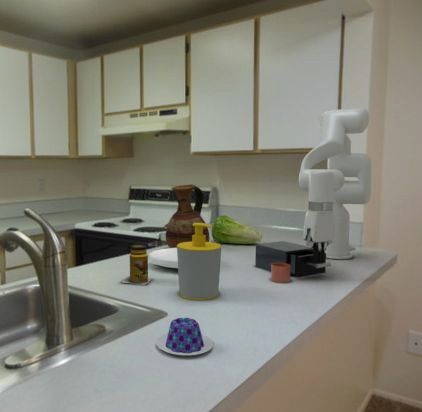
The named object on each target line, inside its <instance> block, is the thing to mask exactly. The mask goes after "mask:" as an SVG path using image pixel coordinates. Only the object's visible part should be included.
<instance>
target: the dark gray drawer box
mask: <svg viewBox="0 0 422 412" xmlns="http://www.w3.org/2000/svg"><path fill="white" fill-rule="evenodd" d="M303 251H313V252H314V250H312V247H311V246H308V245H303V244H299V243H295V242H291V241H290V242H289V241H286V240H279V241H272V242H262V243H261V242H260V243H255V259H254V261H255V265H254V267H256V268H259V269H262V270H266V271H269V272H271V264H273V263H286V264H287V261H288V253H295V252H303ZM294 275H295V276H296V274H293V273H290V276H294Z"/></svg>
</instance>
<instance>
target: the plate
mask: <svg viewBox="0 0 422 412" xmlns="http://www.w3.org/2000/svg"><path fill="white" fill-rule="evenodd" d="M148 262H149V263H151V264H153V265H156V266H160V267H164V268H171V269H178V258H177V248H170V247H168V248H162V249H156V250H153V251H151V252H150V253H149V254H148Z"/></svg>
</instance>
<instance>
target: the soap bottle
mask: <svg viewBox="0 0 422 412" xmlns="http://www.w3.org/2000/svg"><path fill="white" fill-rule="evenodd" d="M205 223H206V222H205ZM205 223H194V224H193V226H195V235H192V242H183V243H179V244H178V245H177V258H178V268H177V274H178V286H179V287H178V289H179V291H178V292H179V296H180V297H183V298H185V299H188V300H196V301H206V300H213V299H215V298H217V297H218V296H219V290H220V289H219V287H220V276H221V275H220V274H221V273H220V272H221V260H222V259H221V258H222V257H221V256H222V245H221V243H218V242H211V241H209V242H206V236H205V235H203V227H207V228H208V229H212V225H210V224H208V223H206V224H205Z"/></svg>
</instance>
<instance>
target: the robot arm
mask: <svg viewBox="0 0 422 412" xmlns="http://www.w3.org/2000/svg"><path fill="white" fill-rule="evenodd" d="M369 113H370V112H369V111H368V109H367V108H365V107H355V108H344V109H341V108H340V109H331V110H326V111H323V112H321V114H320V115H319V124H320V131H319V137H318V142H317V145H316V146H314V147H313V148H312V149H311V150H310V151H309V152H308V153H307V154H306V155H305V156H304V157H303V159H302V161H301V163H300V169H299V175H298V185H299V188H300V189H301V190H303V191H306V192H308V205H307V206H308V209H307V211H306V212H305V217H304V222H303V230H302V231H303V233H302V239H303V240H304V241H306V243H305V244H306V245H305V246H308V247H312V250H314V254H313V261H314V262H316V263H324V262H325V253H326V259H332V260H349V259H352V258H353V254H352V253H351V251H355V250H356V248H357V247H356V246H355V245H350V222H351V221H350V218H351V217H350V215H351V214H350V212H349V211H348V210H347V208H346V207H345V205H366V204H368V203H369V202H370V200H371V193H372V192H371V191H372V187H371V186H372V160H371V157H370V155H369V154H367V153H364V152H363V153H362V152H359V153H358V152H356V153H355V152H353V153H352V151H351V150H352V141H351V139H350V137H349V136H348V135H353V134H355V135H356V134H362V133H365V131H366V129H367V128H368V126H369V123H370V114H369ZM326 160H327V162H326V163H327V165H326V166H327V169H326V168H323V169H321V168H313V167H315V165H317V164H319V163H321V162H322V161H326ZM345 178H357V180H347V179H345Z"/></svg>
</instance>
